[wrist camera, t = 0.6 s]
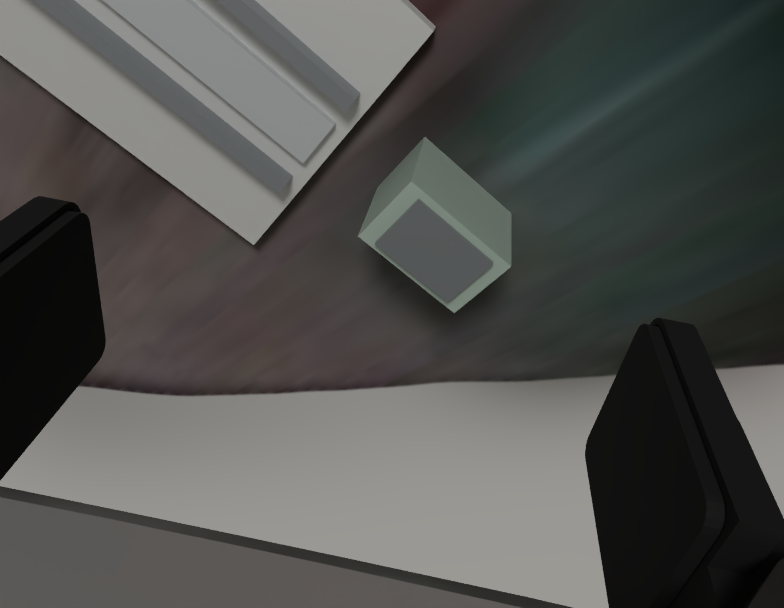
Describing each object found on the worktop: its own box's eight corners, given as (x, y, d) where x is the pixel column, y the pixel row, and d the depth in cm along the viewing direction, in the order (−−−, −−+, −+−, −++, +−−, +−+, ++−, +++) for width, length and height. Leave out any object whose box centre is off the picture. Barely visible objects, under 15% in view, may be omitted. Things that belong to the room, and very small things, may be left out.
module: (424, 136, 42) (410, 184, 36) (511, 212, 44) (511, 270, 38) (377, 187, 45) (356, 239, 39) (461, 257, 47) (453, 316, 41)
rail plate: (71, -323, 31) (39, -335, 29) (435, 26, 38) (431, 37, 36) (-42, 9, 42) (-71, 18, 40) (258, 237, 48) (247, 255, 46)
